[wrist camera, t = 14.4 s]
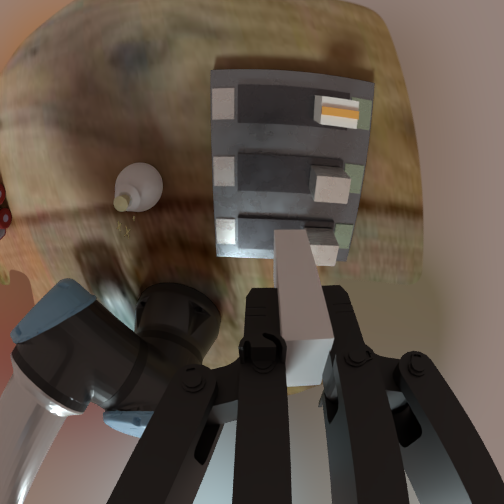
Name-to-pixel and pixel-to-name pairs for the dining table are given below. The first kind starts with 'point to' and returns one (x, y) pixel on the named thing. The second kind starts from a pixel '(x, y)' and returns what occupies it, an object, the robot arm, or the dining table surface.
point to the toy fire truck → (4, 214)
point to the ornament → (137, 189)
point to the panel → (285, 161)
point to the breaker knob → (336, 111)
